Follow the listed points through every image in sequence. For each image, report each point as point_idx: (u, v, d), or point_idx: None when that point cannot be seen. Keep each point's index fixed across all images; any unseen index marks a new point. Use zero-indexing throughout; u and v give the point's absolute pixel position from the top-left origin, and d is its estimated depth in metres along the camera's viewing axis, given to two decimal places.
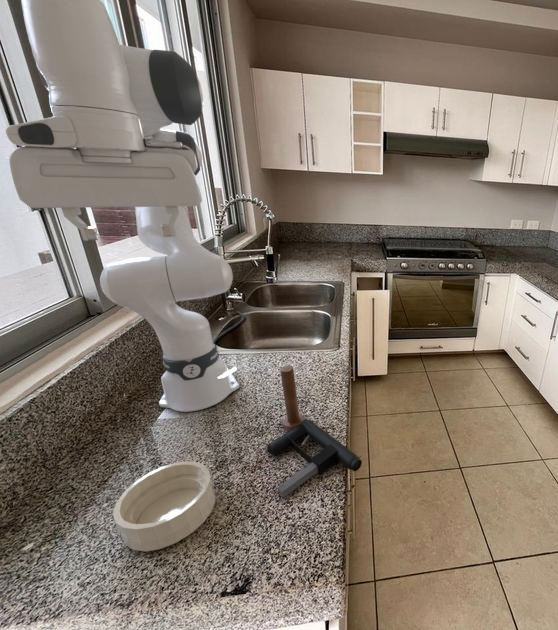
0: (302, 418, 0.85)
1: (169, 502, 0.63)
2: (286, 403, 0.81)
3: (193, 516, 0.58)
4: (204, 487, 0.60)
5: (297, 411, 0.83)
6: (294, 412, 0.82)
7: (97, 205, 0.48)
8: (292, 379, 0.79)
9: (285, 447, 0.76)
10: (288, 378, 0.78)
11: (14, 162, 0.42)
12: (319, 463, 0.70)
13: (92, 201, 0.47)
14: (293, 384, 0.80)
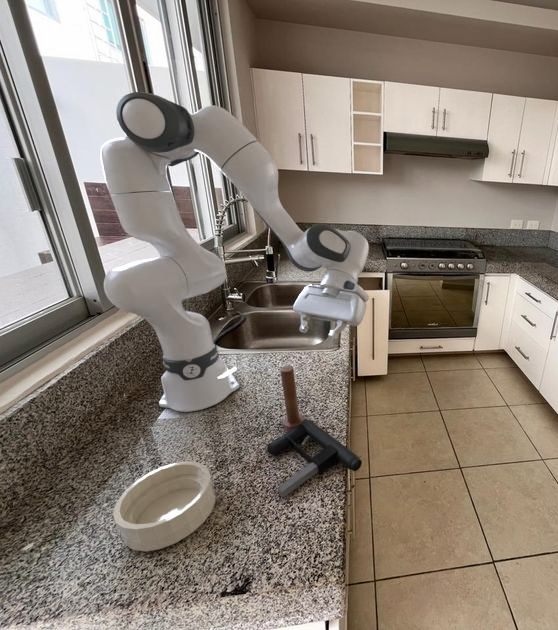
0: (302, 418, 0.85)
1: (169, 502, 0.63)
2: (286, 403, 0.81)
3: (193, 516, 0.58)
4: (204, 487, 0.60)
5: (297, 411, 0.83)
6: (294, 412, 0.82)
7: (336, 321, 0.89)
8: (292, 379, 0.79)
9: (285, 447, 0.76)
10: (288, 378, 0.78)
11: None
12: (319, 463, 0.70)
13: None
14: (293, 384, 0.80)
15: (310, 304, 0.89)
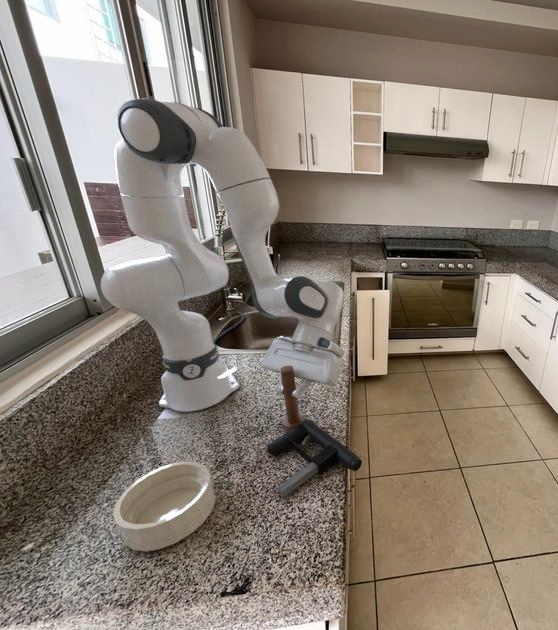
0: (302, 418, 0.85)
1: (169, 502, 0.63)
2: (286, 403, 0.81)
3: (193, 516, 0.58)
4: (204, 487, 0.60)
5: (297, 411, 0.83)
6: (294, 412, 0.82)
7: None
8: (292, 379, 0.79)
9: (285, 447, 0.76)
10: (288, 378, 0.78)
11: None
12: (319, 463, 0.70)
13: None
14: (293, 384, 0.80)
15: (280, 360, 0.83)
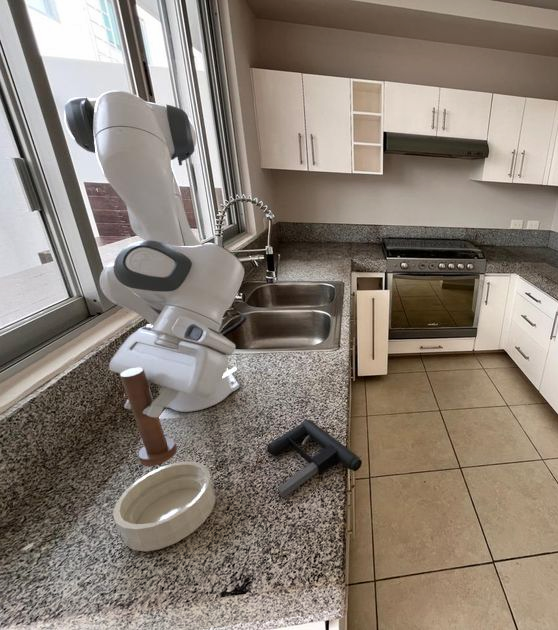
0: (171, 445, 0.57)
1: (169, 502, 0.63)
2: (137, 424, 0.53)
3: (193, 516, 0.58)
4: (204, 487, 0.60)
5: (159, 436, 0.55)
6: (152, 437, 0.54)
7: None
8: (141, 389, 0.52)
9: (285, 447, 0.76)
10: (132, 387, 0.51)
11: None
12: (319, 463, 0.70)
13: None
14: (145, 396, 0.52)
15: (134, 360, 0.56)
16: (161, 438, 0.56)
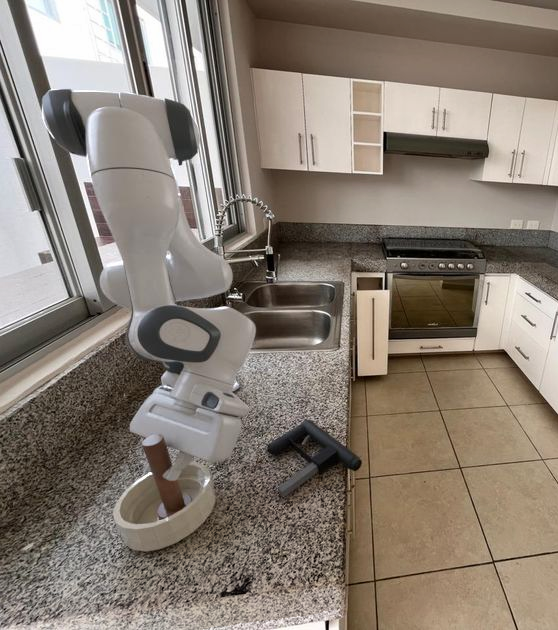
0: (187, 502, 0.61)
1: None
2: (157, 486, 0.57)
3: (193, 516, 0.58)
4: (204, 487, 0.60)
5: (177, 495, 0.59)
6: (170, 497, 0.58)
7: None
8: (161, 455, 0.55)
9: (285, 447, 0.76)
10: (153, 454, 0.54)
11: None
12: (319, 463, 0.70)
13: None
14: (164, 461, 0.56)
15: (154, 423, 0.59)
16: (179, 496, 0.59)
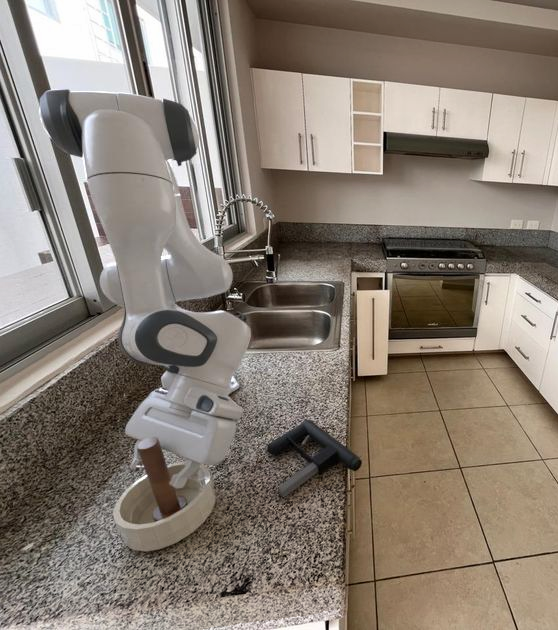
0: (182, 504, 0.61)
1: None
2: (152, 489, 0.57)
3: (193, 516, 0.58)
4: (204, 487, 0.60)
5: (172, 497, 0.59)
6: (165, 500, 0.58)
7: None
8: (156, 458, 0.56)
9: (285, 447, 0.76)
10: (148, 457, 0.55)
11: None
12: (319, 463, 0.70)
13: None
14: (159, 464, 0.56)
15: (149, 426, 0.60)
16: (174, 499, 0.60)
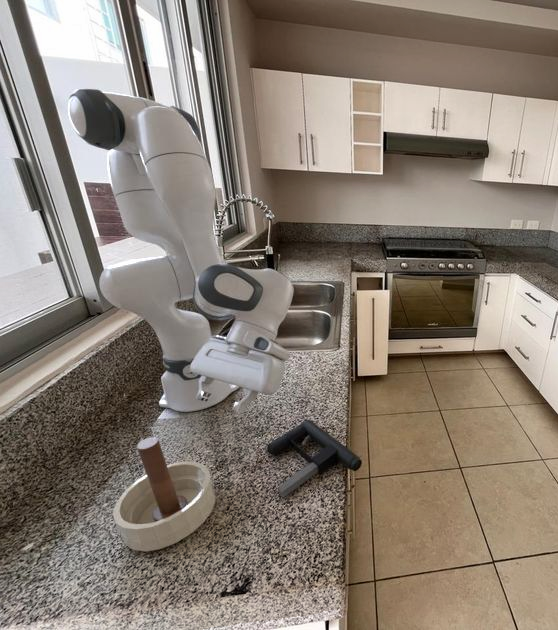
0: (182, 504, 0.61)
1: None
2: (152, 489, 0.57)
3: (193, 516, 0.58)
4: (204, 487, 0.60)
5: (172, 497, 0.59)
6: (165, 500, 0.58)
7: None
8: (156, 458, 0.56)
9: (285, 447, 0.76)
10: (148, 457, 0.55)
11: None
12: (319, 463, 0.70)
13: None
14: (159, 464, 0.56)
15: (211, 364, 0.70)
16: (174, 499, 0.60)
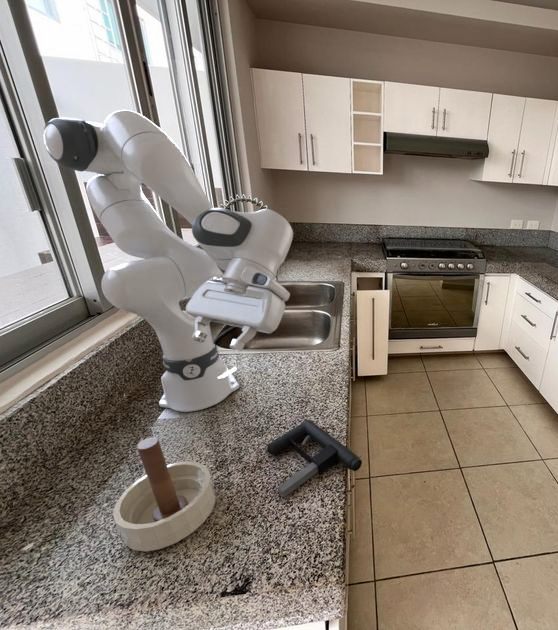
0: (182, 504, 0.61)
1: None
2: (152, 489, 0.57)
3: (193, 516, 0.58)
4: (204, 487, 0.60)
5: (172, 497, 0.59)
6: (165, 500, 0.58)
7: None
8: (156, 458, 0.56)
9: (285, 447, 0.76)
10: (148, 457, 0.55)
11: None
12: (319, 463, 0.70)
13: None
14: (159, 464, 0.56)
15: (208, 303, 0.67)
16: (174, 499, 0.60)
